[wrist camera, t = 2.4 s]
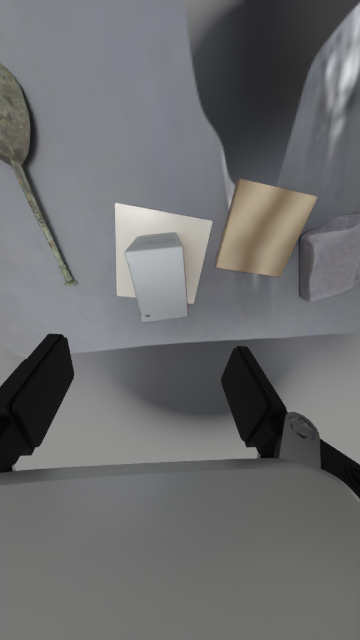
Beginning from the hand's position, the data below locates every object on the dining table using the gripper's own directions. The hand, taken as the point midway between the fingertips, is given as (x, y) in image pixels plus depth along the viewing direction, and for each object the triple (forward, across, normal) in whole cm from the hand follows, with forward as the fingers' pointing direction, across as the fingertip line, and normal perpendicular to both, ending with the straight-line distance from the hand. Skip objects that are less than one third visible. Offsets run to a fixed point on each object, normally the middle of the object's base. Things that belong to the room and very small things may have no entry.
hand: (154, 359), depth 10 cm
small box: (+20, 0, 0) cm, 20 cm away
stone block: (+21, -28, -5) cm, 35 cm away
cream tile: (+20, 0, 0) cm, 21 cm away
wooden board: (+20, -14, -6) cm, 26 cm away
